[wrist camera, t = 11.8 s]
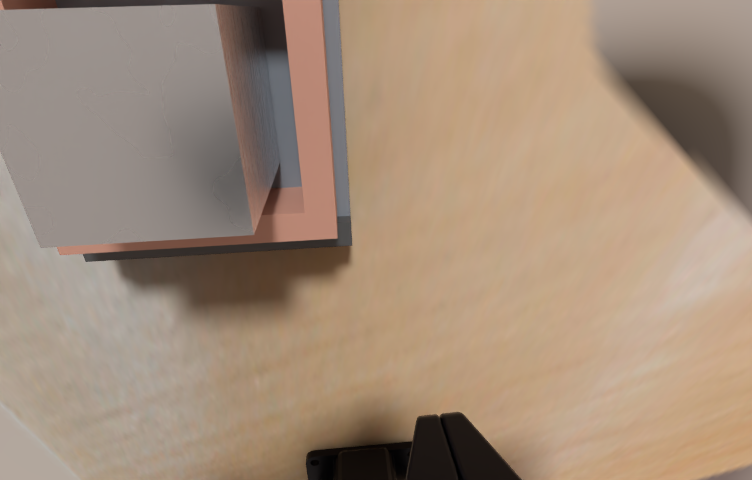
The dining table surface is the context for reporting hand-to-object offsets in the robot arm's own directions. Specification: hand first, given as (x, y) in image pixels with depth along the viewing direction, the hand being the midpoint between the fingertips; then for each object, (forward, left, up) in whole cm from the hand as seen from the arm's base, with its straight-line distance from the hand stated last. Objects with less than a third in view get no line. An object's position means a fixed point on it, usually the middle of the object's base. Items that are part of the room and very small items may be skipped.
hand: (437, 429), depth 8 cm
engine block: (+5, +6, -10) cm, 13 cm away
